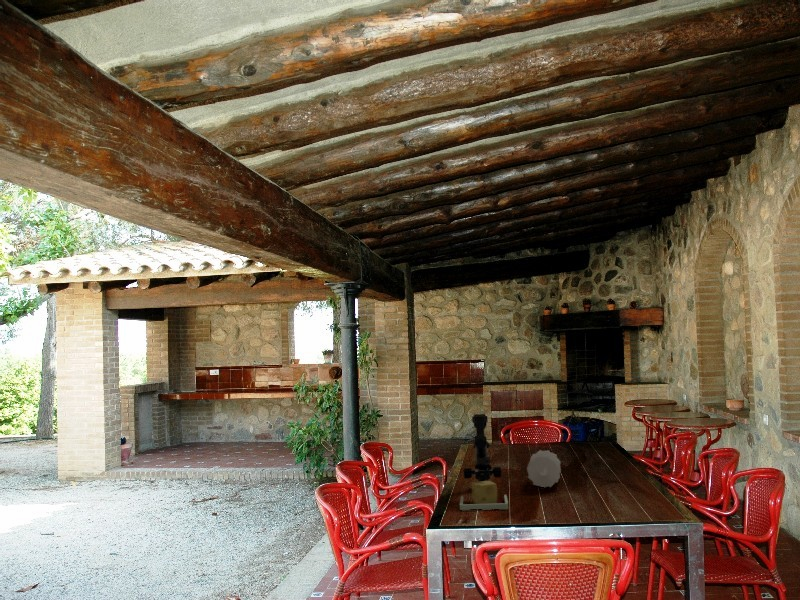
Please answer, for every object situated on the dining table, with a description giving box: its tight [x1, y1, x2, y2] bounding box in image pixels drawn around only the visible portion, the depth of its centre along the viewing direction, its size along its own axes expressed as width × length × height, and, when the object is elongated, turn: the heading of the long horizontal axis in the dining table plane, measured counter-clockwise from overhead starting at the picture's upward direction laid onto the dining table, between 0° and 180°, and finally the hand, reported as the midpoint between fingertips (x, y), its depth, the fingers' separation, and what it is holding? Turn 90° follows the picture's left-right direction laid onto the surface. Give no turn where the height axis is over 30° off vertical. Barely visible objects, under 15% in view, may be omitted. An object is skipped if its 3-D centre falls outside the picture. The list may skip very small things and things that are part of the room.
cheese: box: [471, 480, 498, 504], centre depth 341 cm, size 10×11×10 cm
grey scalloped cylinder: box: [526, 449, 562, 488], centre depth 377 cm, size 18×18×25 cm
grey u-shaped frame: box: [459, 494, 509, 511], centre depth 338 cm, size 19×22×2 cm
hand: (483, 487), depth 347 cm, fingers closed
